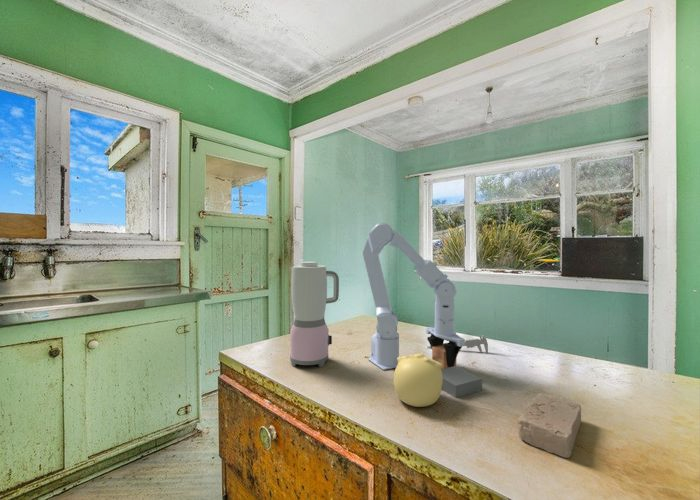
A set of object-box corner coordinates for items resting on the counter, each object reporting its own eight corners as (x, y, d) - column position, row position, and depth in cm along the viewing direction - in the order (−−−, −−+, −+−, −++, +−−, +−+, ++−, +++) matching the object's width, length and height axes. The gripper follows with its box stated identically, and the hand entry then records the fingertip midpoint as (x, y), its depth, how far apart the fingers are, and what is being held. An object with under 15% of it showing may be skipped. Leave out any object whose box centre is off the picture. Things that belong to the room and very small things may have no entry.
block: (432, 366, 96) (432, 346, 96) (444, 363, 98) (444, 344, 98) (443, 372, 92) (443, 351, 91) (456, 369, 94) (456, 349, 94)
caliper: (487, 353, 108) (487, 335, 108) (487, 354, 107) (488, 335, 107) (427, 348, 113) (427, 330, 113) (427, 348, 112) (427, 331, 112)
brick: (537, 408, 72) (537, 388, 72) (582, 423, 66) (582, 401, 66) (516, 443, 60) (517, 418, 60) (569, 464, 54) (570, 437, 54)
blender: (287, 369, 93) (286, 263, 93) (292, 355, 106) (291, 261, 105) (339, 368, 94) (339, 263, 94) (338, 354, 107) (338, 260, 106)
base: (431, 382, 84) (431, 371, 84) (456, 376, 88) (456, 366, 88) (455, 397, 76) (455, 385, 76) (482, 390, 80) (482, 378, 80)
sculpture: (445, 393, 79) (445, 351, 78) (438, 417, 68) (438, 368, 67) (400, 385, 83) (400, 345, 83) (387, 406, 72) (387, 360, 72)
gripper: (472, 322, 90) (472, 369, 90) (438, 312, 103) (438, 353, 103) (454, 325, 87) (454, 373, 87) (421, 314, 100) (421, 356, 100)
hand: (444, 362), depth 95 cm, fingers closed on block, 5 cm apart
